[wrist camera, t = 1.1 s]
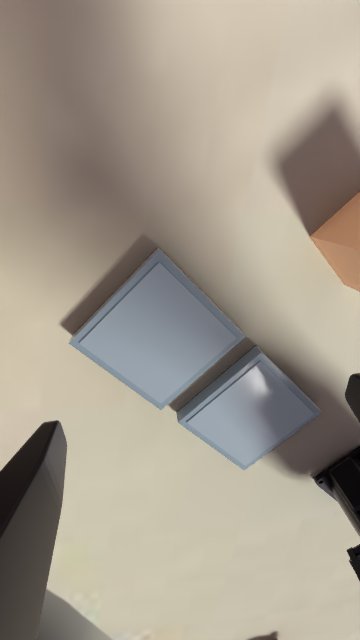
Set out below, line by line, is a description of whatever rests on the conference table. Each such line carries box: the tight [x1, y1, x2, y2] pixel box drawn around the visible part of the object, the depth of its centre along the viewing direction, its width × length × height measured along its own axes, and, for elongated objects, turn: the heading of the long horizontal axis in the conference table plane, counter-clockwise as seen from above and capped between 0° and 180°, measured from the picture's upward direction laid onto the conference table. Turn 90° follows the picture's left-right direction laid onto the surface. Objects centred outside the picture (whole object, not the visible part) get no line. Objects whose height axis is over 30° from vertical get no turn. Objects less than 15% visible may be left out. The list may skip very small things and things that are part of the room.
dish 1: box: [69, 247, 245, 410], centre depth 22 cm, size 9×9×1 cm
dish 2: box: [177, 346, 322, 470], centre depth 25 cm, size 9×9×1 cm
